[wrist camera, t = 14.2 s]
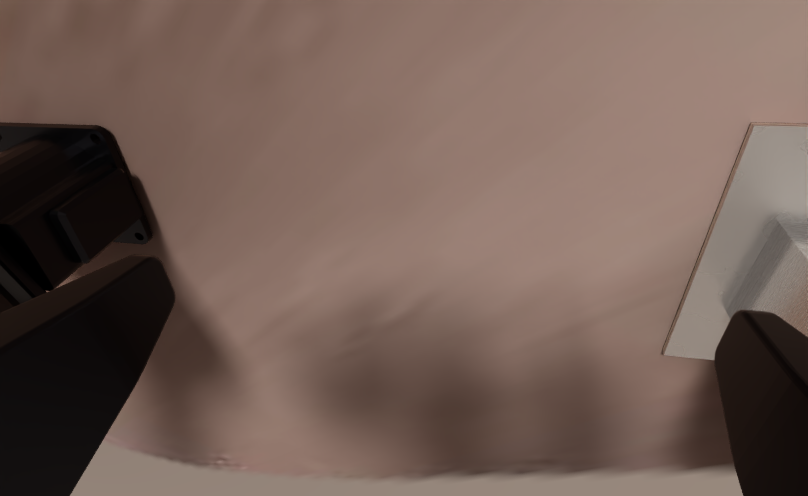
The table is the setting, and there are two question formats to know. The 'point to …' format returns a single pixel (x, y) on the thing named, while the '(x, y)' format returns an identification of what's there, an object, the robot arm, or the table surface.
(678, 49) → the table surface
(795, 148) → the duct flange
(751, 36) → the table surface
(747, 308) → the duct elbow
